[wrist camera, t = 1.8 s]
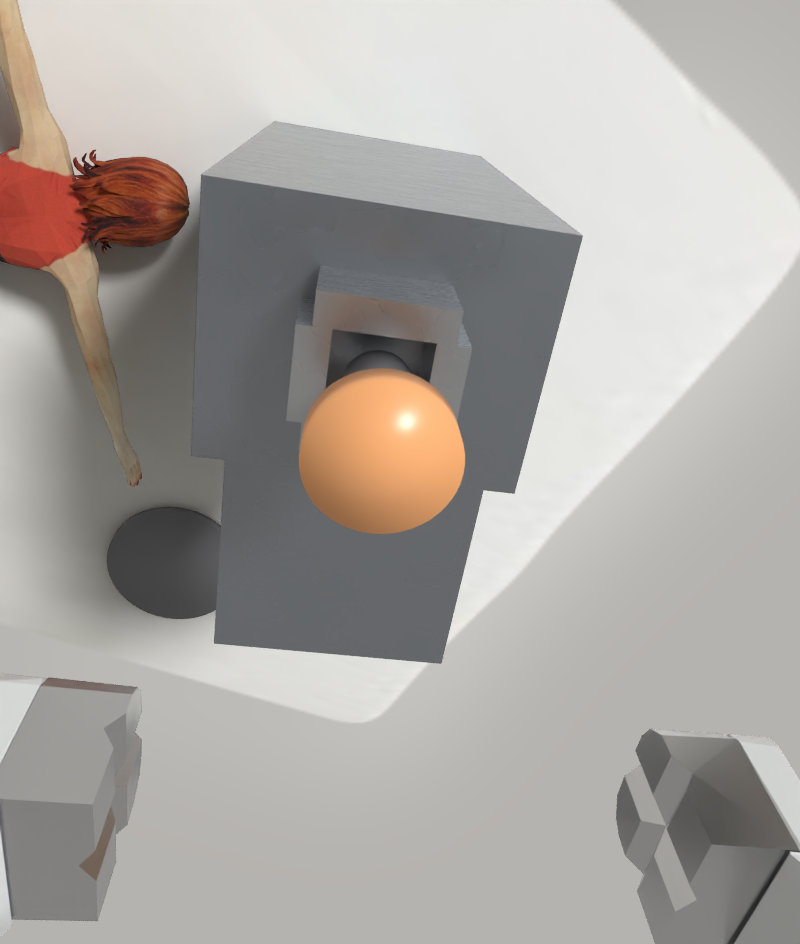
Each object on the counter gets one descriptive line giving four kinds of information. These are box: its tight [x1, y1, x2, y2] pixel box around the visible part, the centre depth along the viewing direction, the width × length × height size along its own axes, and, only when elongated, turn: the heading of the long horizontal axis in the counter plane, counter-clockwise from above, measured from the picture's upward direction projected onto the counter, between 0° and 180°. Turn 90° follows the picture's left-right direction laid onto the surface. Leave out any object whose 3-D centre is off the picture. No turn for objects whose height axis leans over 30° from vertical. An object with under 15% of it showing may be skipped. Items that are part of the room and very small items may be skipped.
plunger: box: [299, 350, 465, 534], centre depth 17 cm, size 3×3×4 cm
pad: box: [107, 507, 221, 619], centre depth 47 cm, size 8×8×1 cm
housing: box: [191, 121, 583, 664], centre depth 31 cm, size 10×15×22 cm, turn 171°
